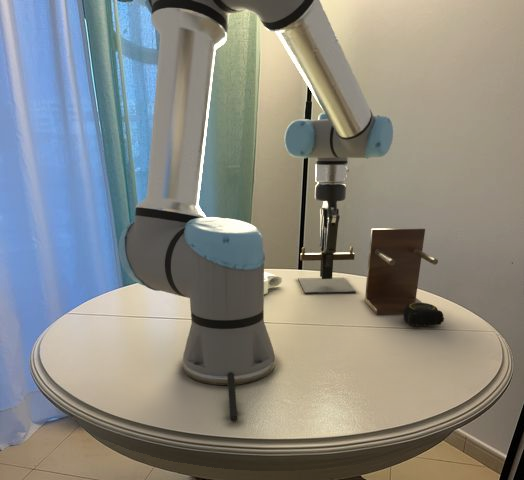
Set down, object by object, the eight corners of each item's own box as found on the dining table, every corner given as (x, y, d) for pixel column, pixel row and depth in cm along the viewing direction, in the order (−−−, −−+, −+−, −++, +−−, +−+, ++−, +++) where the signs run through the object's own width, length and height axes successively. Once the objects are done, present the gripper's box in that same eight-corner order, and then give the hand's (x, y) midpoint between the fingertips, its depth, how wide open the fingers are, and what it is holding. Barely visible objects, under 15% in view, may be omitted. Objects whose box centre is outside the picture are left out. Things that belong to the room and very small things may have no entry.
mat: (355, 292, 115) (355, 291, 115) (304, 293, 115) (305, 292, 115) (343, 278, 128) (343, 277, 128) (298, 279, 128) (298, 278, 127)
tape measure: (409, 330, 91) (411, 312, 90) (398, 318, 97) (400, 301, 96) (442, 329, 91) (445, 311, 90) (429, 317, 98) (431, 301, 96)
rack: (433, 316, 98) (446, 237, 92) (379, 317, 98) (387, 238, 91) (413, 300, 110) (423, 228, 103) (364, 301, 109) (371, 228, 102)
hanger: (354, 259, 118) (355, 247, 117) (300, 260, 118) (301, 247, 116) (352, 258, 120) (353, 245, 118) (300, 259, 119) (300, 246, 118)
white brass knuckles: (289, 288, 119) (244, 299, 111) (249, 275, 132) (206, 284, 124) (290, 276, 118) (244, 285, 109) (248, 264, 131) (205, 271, 122)
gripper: (352, 185, 105) (346, 284, 114) (339, 181, 118) (334, 270, 127) (320, 185, 104) (316, 285, 114) (311, 181, 118) (308, 271, 127)
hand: (326, 277), depth 121 cm, fingers closed on hanger, 2 cm apart
